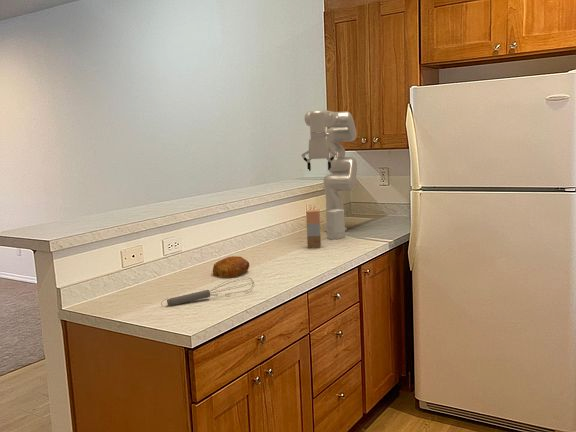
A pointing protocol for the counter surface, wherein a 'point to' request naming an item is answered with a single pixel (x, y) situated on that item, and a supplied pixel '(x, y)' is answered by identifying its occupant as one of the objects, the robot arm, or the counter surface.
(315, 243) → the walnut block
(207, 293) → the kitchen whisk
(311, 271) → the counter surface
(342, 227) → the skincare box
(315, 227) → the slate block
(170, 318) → the counter surface
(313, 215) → the terracotta block
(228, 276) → the brown bread loaf
